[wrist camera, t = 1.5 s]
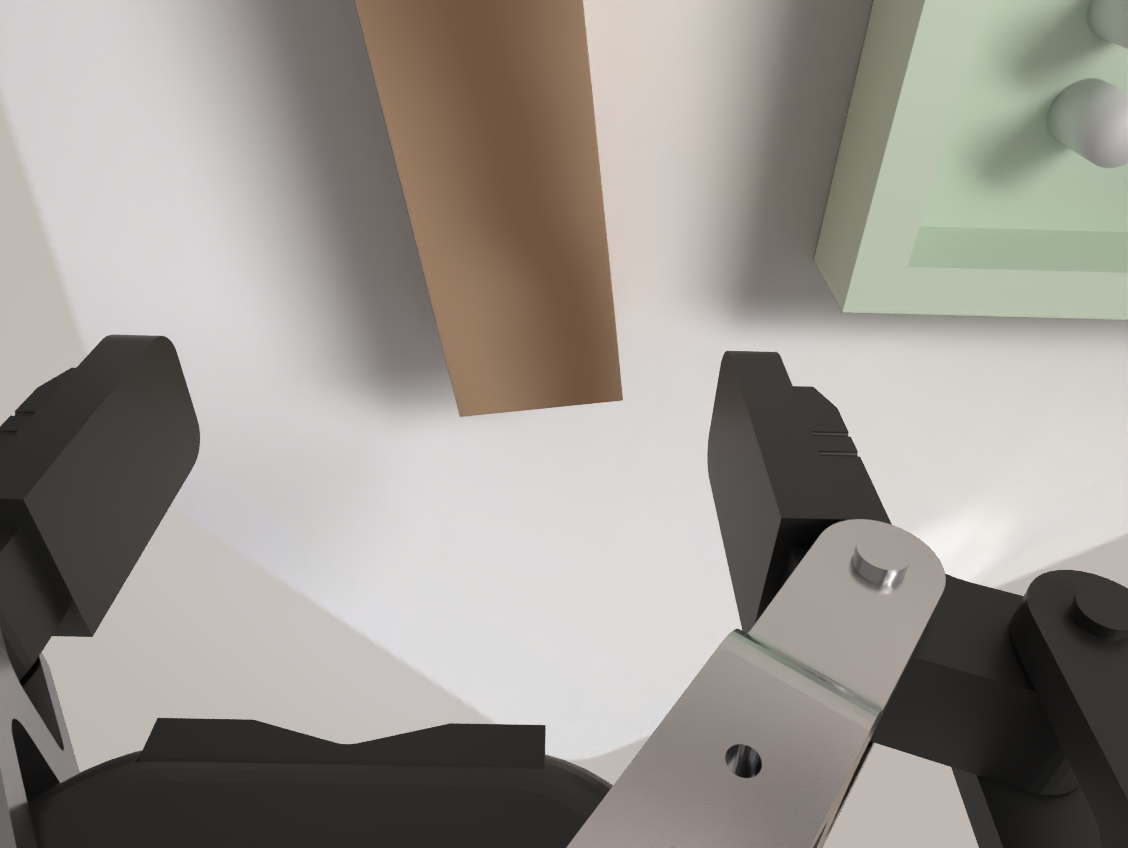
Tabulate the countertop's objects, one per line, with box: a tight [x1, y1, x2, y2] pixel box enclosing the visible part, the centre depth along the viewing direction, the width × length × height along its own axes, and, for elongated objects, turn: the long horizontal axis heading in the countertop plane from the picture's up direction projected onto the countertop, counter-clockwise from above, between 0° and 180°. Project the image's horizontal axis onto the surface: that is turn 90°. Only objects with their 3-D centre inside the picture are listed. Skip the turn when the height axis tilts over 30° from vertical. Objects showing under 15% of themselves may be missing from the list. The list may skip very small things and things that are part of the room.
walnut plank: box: [355, 0, 623, 417], centre depth 22 cm, size 5×15×5 cm, turn 7°
